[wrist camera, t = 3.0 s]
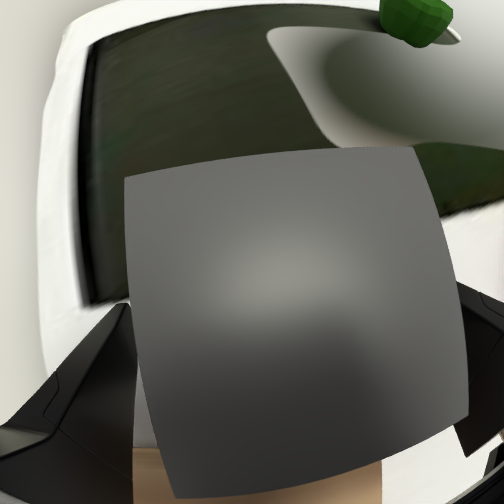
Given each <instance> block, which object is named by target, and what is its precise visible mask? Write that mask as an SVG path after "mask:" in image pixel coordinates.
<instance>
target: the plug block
mask: <svg viewBox="0 0 504 504" xmlns="http://www.w3.org/2000/svg"><path fill="white" fill-rule="evenodd" d="M125 241H126V260H127V273H128V285H129V295H130V305H131V313H132V321H133V328H134V335H135V342H136V348H137V354H138V360H139V366H140V371H141V376H142V381H143V386H144V391H145V396H146V400H147V405H148V409H149V413H150V417H151V421H152V425H153V429H154V433H155V437H156V440H157V444H158V447H159V451H160V454H161V457H162V461H163V464H164V467H165V470H166V473H167V476H168V479H169V482H170V485H171V488H172V491H173V494H174V496H175V499H197V498H217V497H229V496H239V495H248V494H255V493H262V492H268V491H274V490H279V489H285V488H290V487H294V486H299V485H303V484H307V483H311V482H315V481H319V480H323V479H326V478H330V477H333V476H337V475H340V474H343V473H346V472H349V471H352V470H355V469H358V468H361V467H364V466H367V465H369V464H372V463H375V462H377V461H380V460H382V459H385V458H387V457H389V456H392V455H394V454H396V453H399V452H401V451H403V450H405V449H408V448H410V447H412V446H414V445H416V444H418V443H420V442H422V441H424V440H426V439H428V438H430V437H432V436H434V435H436V434H437V433H439V432H441V431H443V430H445V429H446V428H448V427H450V426H452V425H453V424H455V423H457V422H458V421H460V420H461V419H463V418H465V417H466V416H468V407H469V394H468V367H467V353H466V342H465V333H464V326H463V318H462V312H461V305H460V300H459V294H458V289H457V284H456V279H455V274H454V270H453V265H452V261H451V257H450V253H449V249H448V245H447V242H446V238H445V235H444V231H443V228H442V224H441V221H440V218H439V215H438V212H437V209H436V206H435V203H434V200H433V197H432V194H431V191H430V189H429V186H428V183H427V181H426V178H425V175H424V173H423V170H422V168H421V166H420V163H419V161H418V158H417V156H416V154H415V151H414V149H413V147H356V148H355V147H354V148H331V149H315V150H301V151H289V152H279V153H269V154H260V155H251V156H243V157H236V158H228V159H221V160H215V161H208V162H202V163H196V164H190V165H184V166H179V167H173V168H168V169H163V170H158V171H153V172H148V173H144V174H139V175H134V176H130V177H126V178H125Z"/></svg>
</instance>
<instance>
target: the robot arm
mask: <svg viewBox="0 0 504 504" xmlns="http://www.w3.org/2000/svg"><path fill="white" fill-rule="evenodd" d="M456 284H457V289H458V294H459V300H460V305H461V312H462V318H463V326H464V333H465V342H466V353H467V367H468V394H469V407H468V416H466V417H465V418H463V419H461V420H460V421H458V422H457V423H455V424H453V426H454V428H455V431H456V433H457V436H458V439H459V441H460V444H461V447H462V449H463V452H464V455H465V457H466V458H467V457H469V456H470V455H471V454H473V453H474V452H476V451H477V450H479V449H480V448H481V447H483V446H484V445H485V444H487V443H488V442H489V441H491V440H492V439H493V438H494V437H496V436H497V435H498V434H499V435H500V437H501V439H502V441H503V442H502V443H501V444H500V445H498V446H497V447H496V448H495V449H493V450H492V451H491V452H490V454H489V458H488V462H487V465H486V469H485V473H484V476H483V478H482V479H481V480H480V481H478V482H477V483H476V484H474V485H473V486H471V487H470V488H469V489H467V490H466V491H464V492H463V493H461V494H460V495H458V496H457V497H455V498H454V499H452V500H450V501H449V502H447V503H446V504H504V303H503V302H500V301H498V300H496V299H494V298H492V297H489V296H487V295H485V294H483V293H481V292H478V291H477V290H474V289H472V288H470V287H468V286H466V285H464V284H462V283H459V282H457V281H456ZM137 369H138V354H137V348H136V342H135V335H134V328H133V321H132V313H131V307H130V305H129V304H128V303H119V304H116V305H115V306H114V307H113V308H112V309H111V310H110V311H109V312H108V313H107V314H106V315H105V316H104V317H103V318H102V319H101V320H100V322H99V323H98V324H97V325H96V326H95V327H94V328H93V329H92V330H91V331H90V332H89V333H88V334H87V336H86V337H85V338H84V339H83V340H82V341H81V342H80V343H79V344H78V345H77V346H76V348H75V349H74V350H73V351H72V352H71V353H70V354H69V355H68V357H67V358H66V359H65V360H64V361H63V362H62V363H61V364H60V366H59V367H58V368H57V369H56V371H54V372H53V374H52V375H51V376H50V377H49V378H48V379H47V381H46V382H45V383H44V384H43V385H42V386H41V387H40V389H39V390H37V392H36V393H35V394H34V395H33V396H32V397H31V398H30V399H29V400H28V401H27V402H26V403H25V404H24V405H23V406H22V407H21V408H20V409H19V410H18V411H17V412H16V413H15V414H14V415H13V416H12V417H11V418H10V419H9V420H8V421H7V422H6V423H5V424H3V425H1V426H0V504H134V500H133V480H132V479H133V426H134V407H135V393H136V381H137Z"/></svg>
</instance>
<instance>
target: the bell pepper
mask: <svg viewBox="0 0 504 504" xmlns="http://www.w3.org/2000/svg"><path fill="white" fill-rule="evenodd" d="M452 19H453V9H452V8H450V7H449V6H448V5H447V4H446V3H445V2H443V1H441V0H380V6H379V20H380V23H381V26H382V28H383V30H385V31H386V32H387V33H388V34H389V35H390V36H392V37H395V38H397V39H400V40H404V41H405V42H406V43H408V44H409V45H411V46H413V47H415V48H423V47H426V46H428V45H429V44H431V43H432V42H433V41H434V40H436V39H437V38H438V37H439V36H440V35H441V34H442V33H443V32H444V31H445V30H446V29H447V27H448V25H449V24H450V22H451V21H452Z"/></svg>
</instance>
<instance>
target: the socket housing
mask: <svg viewBox="0 0 504 504" xmlns="http://www.w3.org/2000/svg"><path fill="white" fill-rule="evenodd" d="M132 480H133V500H134V504H382V463H381V460H380V461H377V462H375V463H372V464H369V465H367V466H364V467H361V468H358V469H355V470H352V471H349V472H346V473H343V474H340V475H337V476H333V477H330V478H326V479H323V480H319V481H315V482H311V483H307V484H303V485H299V486H294V487H290V488H285V489H279V490H274V491H268V492H262V493H255V494H248V495H239V496H229V497H217V498H197V499H175V496H174V494H173V491H172V488H171V485H170V482H169V479H168V476H167V473H166V470H165V467H164V464H163V461H162V457H161V454H160V451H159V448H133V479H132Z"/></svg>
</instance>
